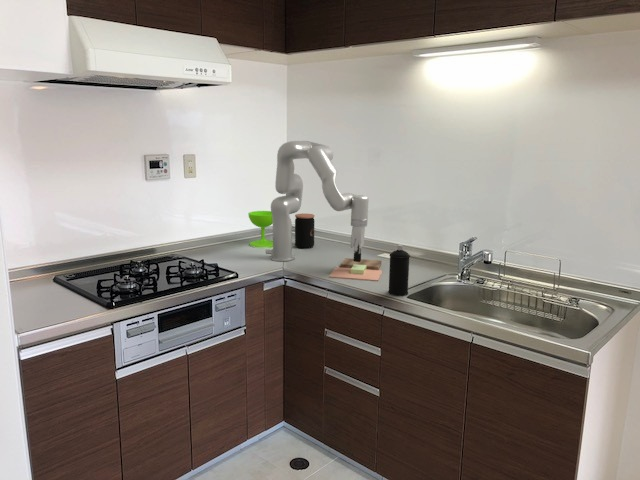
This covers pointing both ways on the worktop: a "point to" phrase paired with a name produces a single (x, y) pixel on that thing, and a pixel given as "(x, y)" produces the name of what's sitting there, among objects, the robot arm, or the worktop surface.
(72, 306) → the worktop surface
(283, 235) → the robot arm
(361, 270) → the sponge
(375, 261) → the plate
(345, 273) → the mat
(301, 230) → the coffee jar
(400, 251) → the aerosol can
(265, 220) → the wineglass
